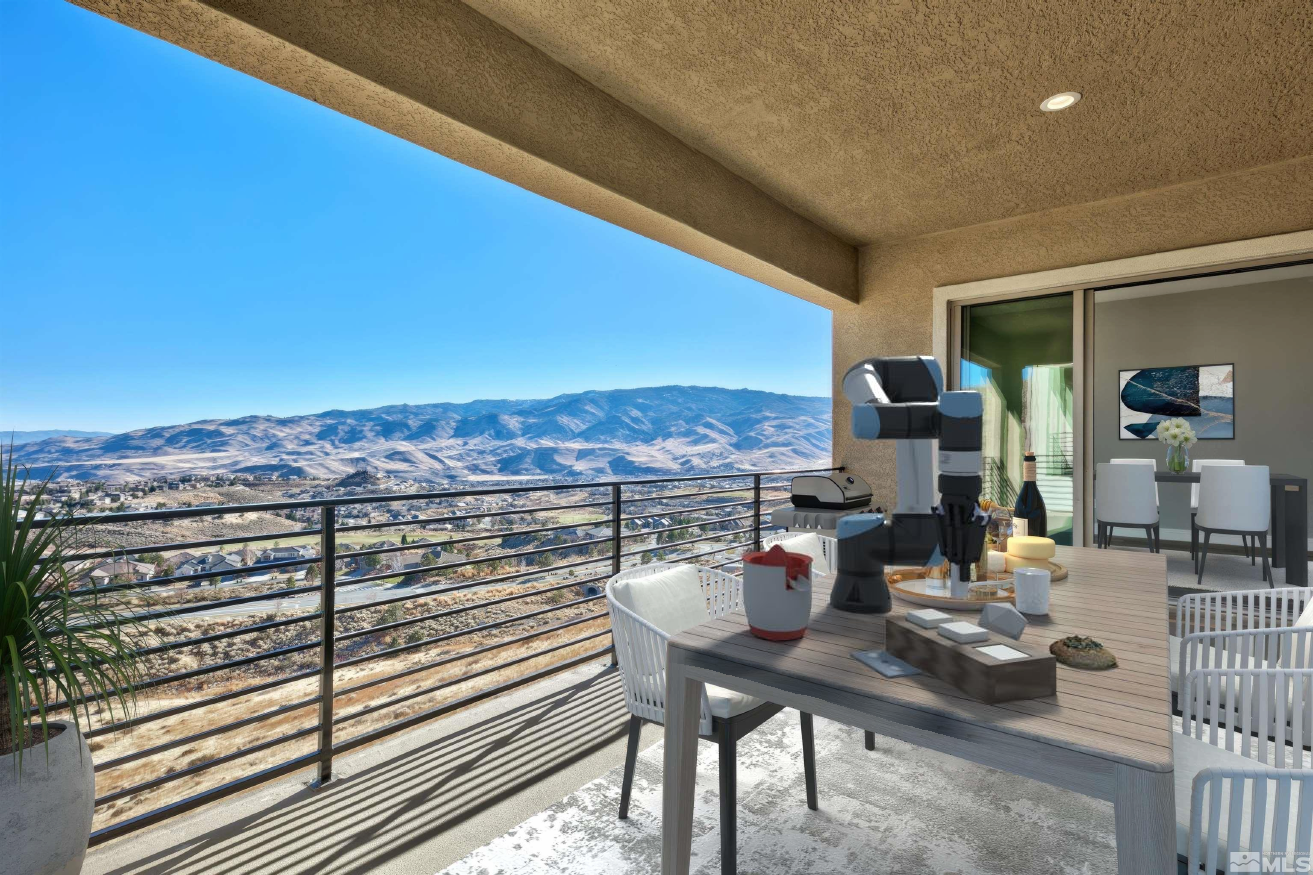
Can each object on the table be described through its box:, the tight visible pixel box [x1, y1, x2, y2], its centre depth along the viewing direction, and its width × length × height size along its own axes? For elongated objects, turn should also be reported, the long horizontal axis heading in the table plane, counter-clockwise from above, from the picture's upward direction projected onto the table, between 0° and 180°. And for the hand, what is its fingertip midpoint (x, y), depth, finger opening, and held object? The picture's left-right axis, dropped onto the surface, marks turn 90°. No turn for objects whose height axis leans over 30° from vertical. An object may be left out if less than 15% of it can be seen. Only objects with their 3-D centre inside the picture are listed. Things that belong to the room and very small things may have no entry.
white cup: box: [1013, 566, 1052, 616], centre depth 155 cm, size 8×8×10 cm
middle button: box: [938, 621, 989, 643], centre depth 117 cm, size 6×6×3 cm
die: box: [976, 602, 1029, 642], centre depth 134 cm, size 8×9×10 cm
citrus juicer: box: [741, 543, 814, 642], centre depth 139 cm, size 16×17×20 cm
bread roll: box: [1048, 634, 1119, 669], centre depth 122 cm, size 11×11×5 cm
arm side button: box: [906, 608, 953, 628], centre depth 126 cm, size 6×6×3 cm
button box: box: [885, 612, 1057, 706], centre depth 117 cm, size 27×14×6 cm, turn 16°
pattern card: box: [850, 649, 922, 679], centre depth 121 cm, size 12×7×1 cm, turn 16°
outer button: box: [974, 645, 1030, 661], centre depth 109 cm, size 6×6×3 cm
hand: (959, 596), depth 119 cm, fingers closed
